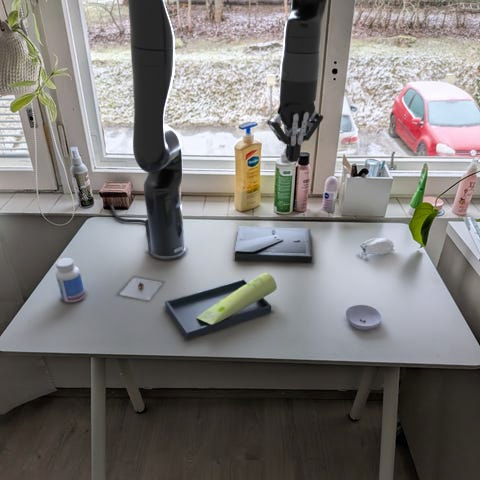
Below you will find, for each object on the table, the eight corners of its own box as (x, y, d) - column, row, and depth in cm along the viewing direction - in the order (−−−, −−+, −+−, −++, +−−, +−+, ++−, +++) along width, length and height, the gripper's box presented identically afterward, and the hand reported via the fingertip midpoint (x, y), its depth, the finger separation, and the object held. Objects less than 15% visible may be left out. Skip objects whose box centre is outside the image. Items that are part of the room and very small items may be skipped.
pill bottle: (89, 292, 123) (81, 258, 117) (77, 304, 119) (68, 270, 113) (70, 288, 125) (61, 254, 119) (57, 300, 121) (47, 265, 115)
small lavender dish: (351, 307, 119) (353, 301, 118) (384, 318, 116) (386, 311, 114) (339, 325, 113) (340, 319, 112) (373, 337, 110) (375, 330, 109)
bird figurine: (372, 268, 135) (398, 249, 138) (368, 246, 131) (395, 228, 134) (359, 263, 139) (384, 245, 142) (355, 242, 135) (381, 224, 138)
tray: (244, 284, 126) (244, 278, 125) (271, 312, 117) (271, 305, 116) (165, 307, 118) (164, 301, 117) (187, 339, 109) (186, 333, 108)
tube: (267, 266, 116) (197, 307, 109) (280, 283, 115) (211, 325, 108) (262, 278, 122) (195, 317, 115) (274, 294, 120) (208, 335, 113)
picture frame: (234, 260, 135) (311, 263, 134) (234, 251, 134) (312, 254, 133) (238, 232, 148) (309, 235, 147) (238, 223, 146) (310, 226, 145)
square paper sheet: (162, 282, 127) (162, 276, 126) (148, 300, 121) (147, 294, 120) (134, 277, 129) (133, 271, 127) (119, 294, 123) (117, 288, 121)
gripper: (316, 68, 105) (308, 151, 116) (261, 74, 100) (257, 159, 111) (337, 76, 100) (326, 161, 110) (280, 83, 95) (275, 171, 106)
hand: (292, 160), depth 111 cm, fingers closed
